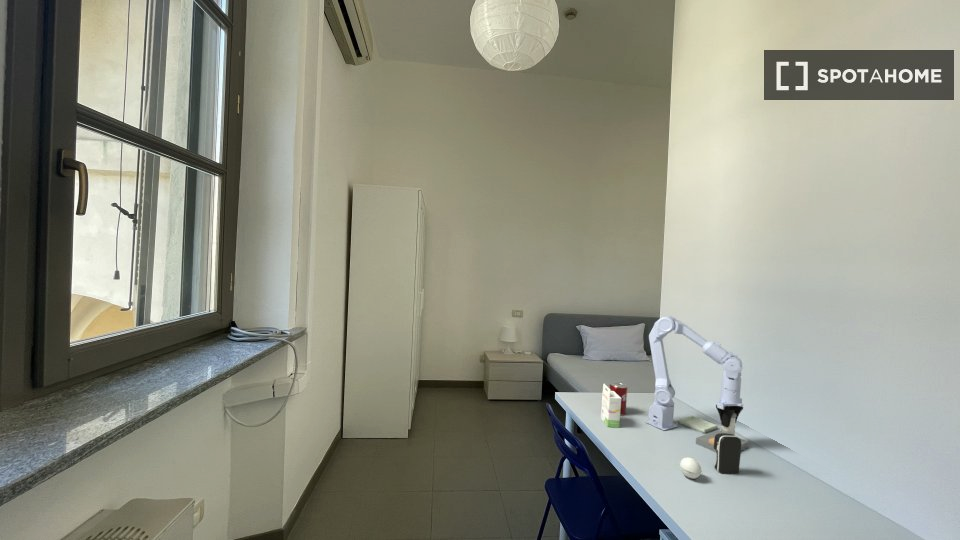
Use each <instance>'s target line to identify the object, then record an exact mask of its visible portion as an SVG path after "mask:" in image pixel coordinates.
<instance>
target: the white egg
mask: <svg viewBox="0 0 960 540" xmlns="http://www.w3.org/2000/svg"><path fill="white" fill-rule="evenodd" d="M679 469H680V471H681V473H682V474H683V475H684V476H685V477H686V478H687V479H698V478H699V477H700V476H701V474H702V467H701V465H700V463H699V462H698V461H697V460H696V459H694V458H692V457H687V456H686V457H684V458H682V459H681V461H680V462H679ZM703 475H705V476H707V477H708V475H706V474H705V473H703Z"/></svg>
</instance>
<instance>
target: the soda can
mask: <svg viewBox="0 0 960 540" xmlns="http://www.w3.org/2000/svg"><path fill="white" fill-rule="evenodd" d="M608 388H609V389H610V391H614V392H615V393H616V394H617V395H618V396H619V397H621V409H620V416H624V415H625V414H626V413H627V398H628V386H627V385H626V384H624V383H620V382H611V383H610V384H609V386H608Z"/></svg>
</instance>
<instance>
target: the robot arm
mask: <svg viewBox="0 0 960 540" xmlns="http://www.w3.org/2000/svg"><path fill="white" fill-rule="evenodd" d="M672 332H673V334H676V335H677V334H678V335H683V336H684V337H686V338H687V339H689V340H691V342H693V343H695V344H696V345H698V346H699V347H701V348H702V353H704V355H706V356H707V357H709V358H710V359H712V360H713V361H715V362H716V363H717V364H718V365H721V366H722V368H723V374H721V375H722V377H721V390H720V398H719V400H718V401H717V404H716V405H715V408H716V410H717V412H718V415H719V420H720V424H721V427H722V426H725V427H729V425H730V421H731V417H732V415H733V413H736V419H735V424H736V423H737V420H738V418H739V415H740V413H741V412H742V411H743V410H744V403H743V398H741V389H742V377H741V376H742V371H743V369H744V367H743V362H742V360H741V358H739V356H738V355H735V354H734V353H733V352H732V351H730V352H729V351H728V350H727V349H725V348H724V347H723V346H721V343H720V342H716V341H710V340H709V341H708V340H707V339H706V338H705V337H703V336H702V335H700V334H699V333H697V332H696V331H694V330H693V328H691V327H689V326H688V325H687V324H685V323H684V322H683V321H682V320H679V319H676V317H674V316H672V315H665V316H663V317H660V318H659V319H658V320H657V321H655V322H654V324H653V327H652V329H651V331H650V332H649V334H648V341H649V346H650V351H651V352H650V353H651V359H652V364H653V365H652V366H653V371H654V376H655V383H654V384H655V386H654V388H655V390H654V393H653V397H654V401H653V404H651V405H650V406H649V408H648V418H647V419H648V420H646V421H645V423H646V424H648V425H651V426H653V427H656V428H658V429H660V430H662V431H668V430H670V429H671V430H672V429H674V428H676V427H678V424H676V423H674V415H675V412H674V411H675V402H674V400H673V398H675V395H676V390H675V388H674V386H673V385H672V382H671V379H670V375H669V371H668V364H667V359H666V353H665V347H664V339H665V337H666V336H667V335H669V334H670V333H672Z"/></svg>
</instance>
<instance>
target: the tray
mask: <svg viewBox="0 0 960 540" xmlns="http://www.w3.org/2000/svg"><path fill="white" fill-rule="evenodd" d="M678 424H680V425H682V426H685V427H687V428H690V429H692V430H694V431H697V432H700V433H701V434H703V435H706V434H708V433H711V432H714V431H717V430H718V424H715V423H712V422H710V421H707V420H705V419H702V418H700V417H697V416H695V415H690V416H686V417H682V418H679V419H678Z"/></svg>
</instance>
